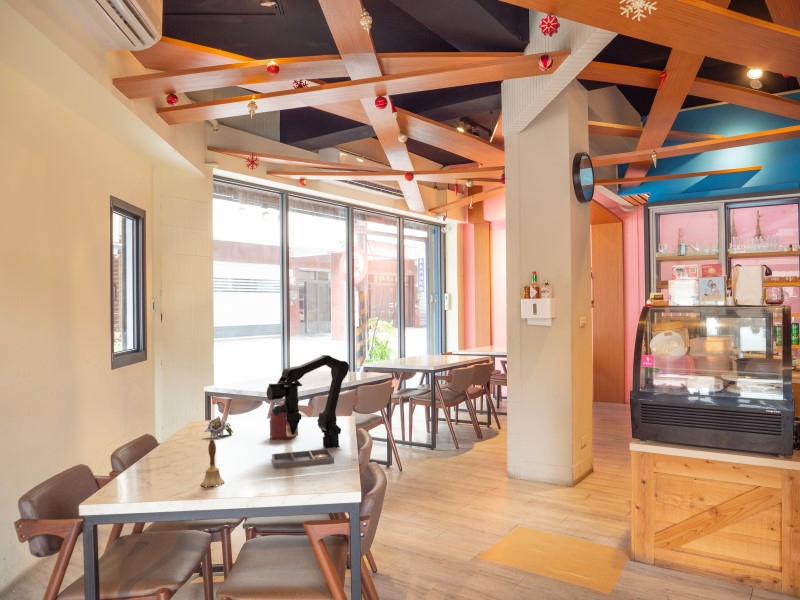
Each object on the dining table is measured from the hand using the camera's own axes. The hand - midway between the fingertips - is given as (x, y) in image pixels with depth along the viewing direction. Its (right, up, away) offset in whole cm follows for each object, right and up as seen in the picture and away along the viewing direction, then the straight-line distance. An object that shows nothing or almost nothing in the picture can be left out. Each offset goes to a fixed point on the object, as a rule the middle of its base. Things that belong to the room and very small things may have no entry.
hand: (292, 433), depth 252 cm
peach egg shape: (+14, -8, -11) cm, 20 cm away
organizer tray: (+7, -9, -13) cm, 17 cm away
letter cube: (0, -1, 0) cm, 1 cm away
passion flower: (-45, -12, +44) cm, 64 cm away
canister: (-11, -10, +36) cm, 39 cm away
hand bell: (-21, -9, -41) cm, 47 cm away
